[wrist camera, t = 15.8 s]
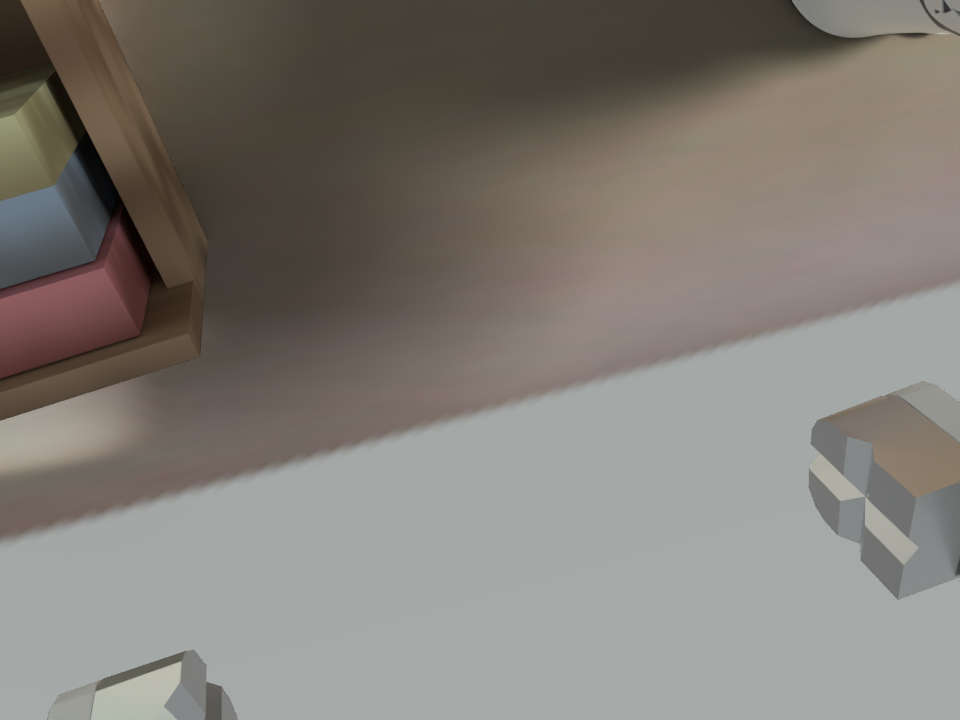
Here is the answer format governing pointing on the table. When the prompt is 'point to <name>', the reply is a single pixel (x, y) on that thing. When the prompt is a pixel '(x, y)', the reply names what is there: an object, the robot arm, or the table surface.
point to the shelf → (86, 215)
